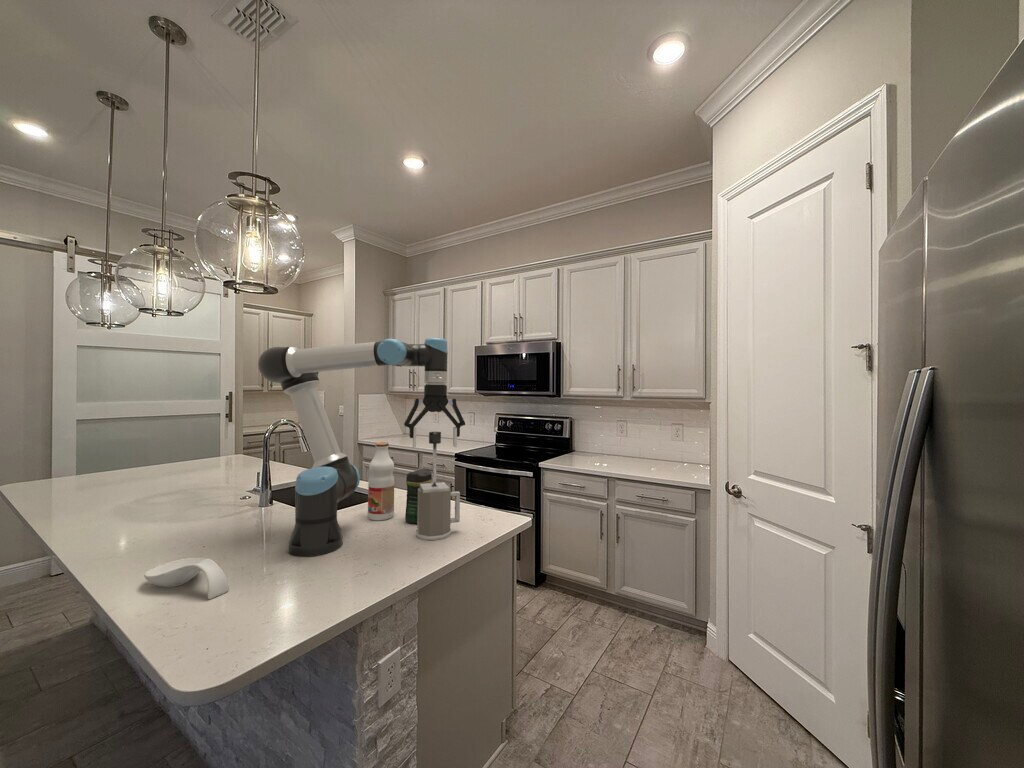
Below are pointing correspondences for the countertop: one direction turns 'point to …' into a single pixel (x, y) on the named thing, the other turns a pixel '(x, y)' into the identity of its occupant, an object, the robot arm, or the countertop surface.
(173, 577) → the spoon rest
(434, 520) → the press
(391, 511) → the fruit juice
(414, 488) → the coffee jar
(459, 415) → the robot arm
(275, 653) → the countertop surface
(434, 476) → the plunger
